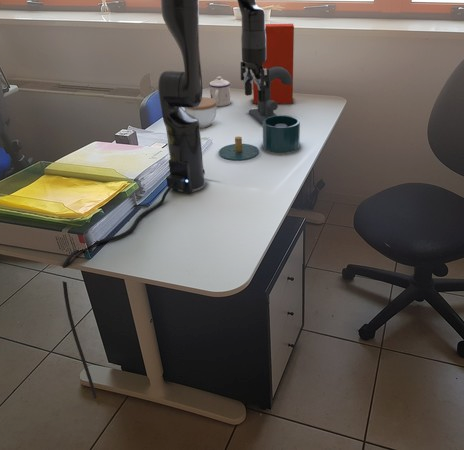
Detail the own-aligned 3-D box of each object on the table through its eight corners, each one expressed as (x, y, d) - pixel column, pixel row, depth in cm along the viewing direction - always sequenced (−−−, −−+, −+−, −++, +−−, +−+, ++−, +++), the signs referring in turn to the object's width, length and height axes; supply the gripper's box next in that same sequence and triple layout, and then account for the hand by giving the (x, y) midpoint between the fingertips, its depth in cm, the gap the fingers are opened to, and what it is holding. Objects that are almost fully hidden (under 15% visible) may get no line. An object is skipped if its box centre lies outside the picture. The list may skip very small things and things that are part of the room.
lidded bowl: (179, 124, 185) (176, 96, 179) (206, 117, 192) (204, 90, 186) (197, 132, 177) (194, 103, 171) (224, 125, 183) (222, 97, 178)
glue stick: (284, 149, 161) (284, 128, 157) (273, 147, 162) (273, 126, 158) (288, 144, 164) (288, 124, 160) (277, 143, 165) (277, 122, 161)
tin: (291, 156, 156) (292, 129, 151) (257, 151, 160) (256, 124, 155) (304, 143, 166) (305, 117, 161) (271, 138, 170) (271, 113, 165)
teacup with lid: (213, 100, 212) (211, 74, 206) (232, 100, 211) (231, 74, 205) (206, 108, 202) (204, 81, 196) (227, 108, 201) (225, 81, 195)
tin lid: (248, 164, 151) (247, 147, 148) (211, 158, 155) (210, 141, 152) (265, 150, 161) (265, 133, 158) (230, 144, 166) (229, 128, 163)
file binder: (254, 98, 213) (252, 23, 196) (291, 98, 213) (292, 23, 196) (253, 104, 206) (251, 26, 189) (292, 103, 206) (293, 26, 189)
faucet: (300, 121, 186) (302, 70, 176) (264, 126, 181) (263, 74, 171) (282, 108, 201) (283, 60, 190) (248, 113, 196) (247, 64, 185)
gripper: (232, 43, 145) (234, 94, 154) (254, 50, 135) (255, 105, 143) (252, 40, 149) (254, 91, 157) (276, 47, 138) (276, 101, 147)
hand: (254, 98), depth 150 cm, fingers open, 8 cm apart
